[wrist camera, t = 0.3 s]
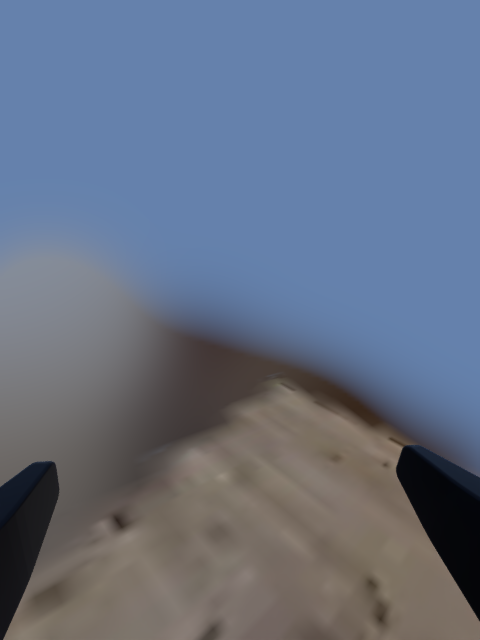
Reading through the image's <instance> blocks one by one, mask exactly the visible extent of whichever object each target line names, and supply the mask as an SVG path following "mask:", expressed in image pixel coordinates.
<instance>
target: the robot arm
mask: <svg viewBox="0 0 480 640" xmlns="http://www.w3.org/2000/svg"><path fill="white" fill-rule="evenodd" d="M396 473H397V477H398V479H399V481H400V483H401V485H402V487H403V489H404V491H405V493H406V495H407V496H408V498H409V500H410V502H411V504H412V506H413V508H414V510H415V512H416V514H417V516H418V518H419V520H420V522H421V524H422V526H423V528H424V530H425V531H426V533H427V535H428V537H429V539H430V540H431V542H432V544H433V546H434V547H435V549H436V551H437V552H438V554H439V555H440V557H441V559H442V560H443V562H444V564H445V565H446V567H447V569H448V570H449V572H450V574H451V575H452V577H453V578H454V580H455V582H456V583H457V585H458V587H459V588H460V590H461V592H462V593H463V595H464V596H465V598H466V600H467V601H468V603H469V605H470V606H471V608H472V610H473V611H474V613H475V615H476V616H477V618H478V619H479V621H480V478H479V477H478V476H476V475H474V474H472V473H470V472H468V471H467V470H465V469H463V468H461V467H459V466H457V465H456V464H454V463H452V462H450V461H448V460H446V459H444V458H443V457H441V456H439V455H437V454H435V453H433V452H432V451H430V450H428V449H426V448H424V447H422V446H420V445H406V446H404V447H403V449H402V451H401V454H400V457H399V461H398V464H397V467H396ZM58 496H59V483H58V476H57V469H56V465H55V463H54V462H52V461H45V462H35V463H32V464H31V465H29V466H28V467H26V468H25V469H24V470H22V471H21V472H20V473H19V474H17V475H16V476H14V477H13V478H12V479H10V480H9V481H8V482H6V483H5V484H4V485H2V486H1V487H0V640H3V639H4V636H5V634H6V632H7V630H8V628H9V625H10V623H11V621H12V619H13V616H14V614H15V612H16V610H17V607H18V605H19V603H20V601H21V598H22V596H23V594H24V592H25V589H26V587H27V585H28V582H29V580H30V577H31V574H32V572H33V569H34V566H35V563H36V561H37V558H38V555H39V552H40V549H41V546H42V543H43V540H44V537H45V535H46V532H47V529H48V526H49V523H50V520H51V517H52V514H53V511H54V509H55V505H56V503H57V500H58Z"/></svg>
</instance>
